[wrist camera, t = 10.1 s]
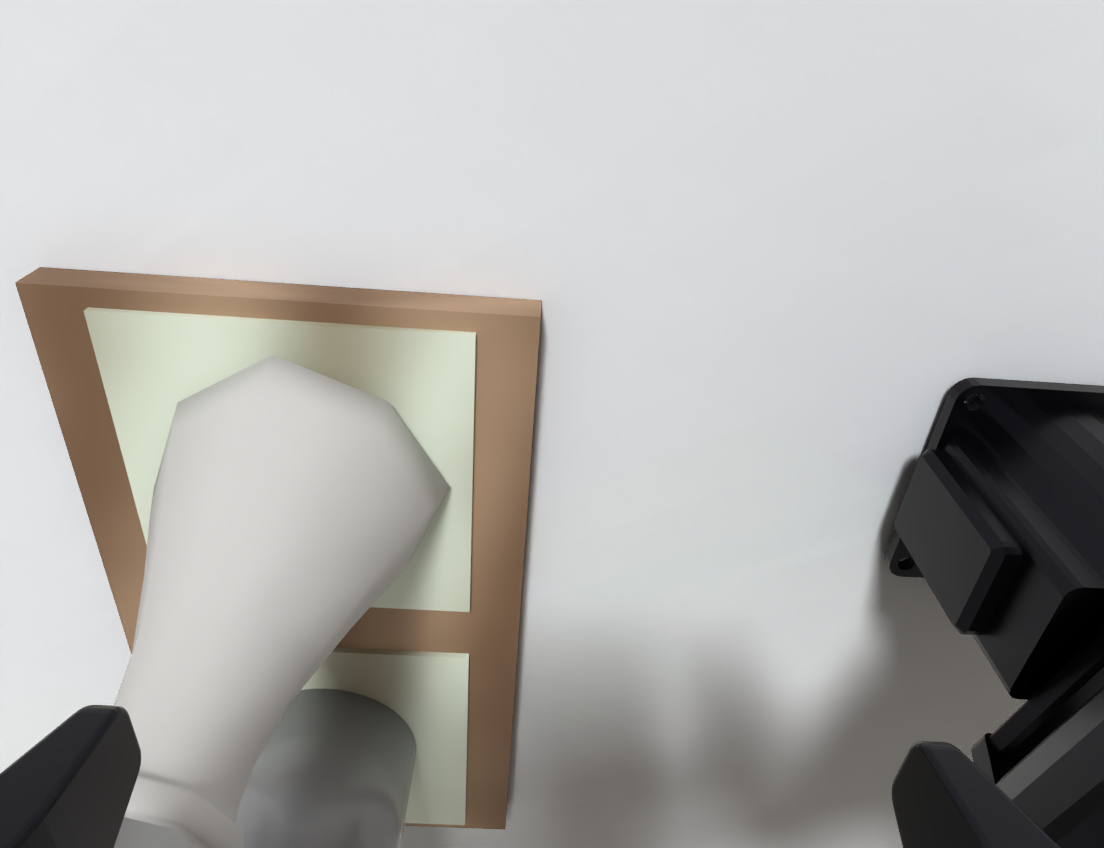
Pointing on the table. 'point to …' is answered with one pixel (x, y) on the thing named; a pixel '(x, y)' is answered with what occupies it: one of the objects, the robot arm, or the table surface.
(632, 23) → the table surface
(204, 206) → the table surface
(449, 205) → the table surface
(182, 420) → the flask
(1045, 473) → the robot arm
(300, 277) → the table surface
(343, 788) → the grey cylinder
